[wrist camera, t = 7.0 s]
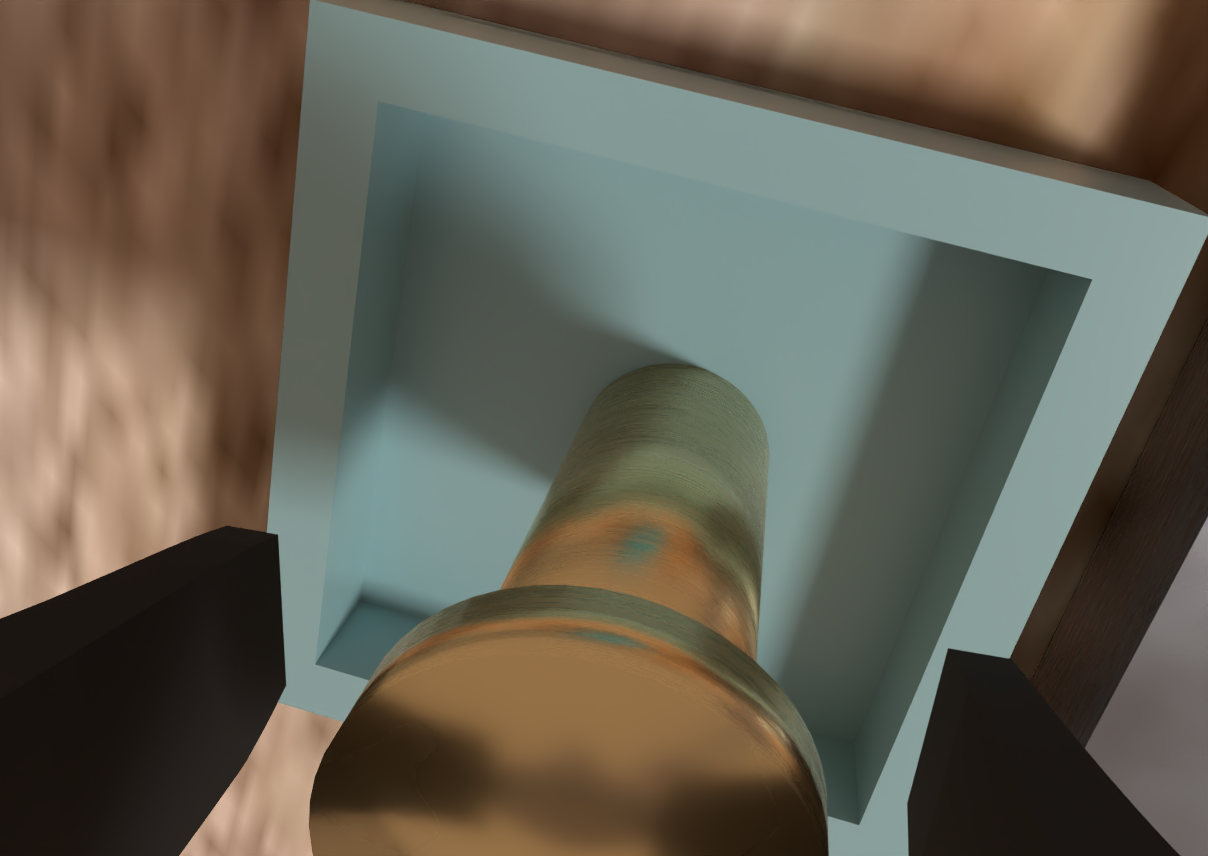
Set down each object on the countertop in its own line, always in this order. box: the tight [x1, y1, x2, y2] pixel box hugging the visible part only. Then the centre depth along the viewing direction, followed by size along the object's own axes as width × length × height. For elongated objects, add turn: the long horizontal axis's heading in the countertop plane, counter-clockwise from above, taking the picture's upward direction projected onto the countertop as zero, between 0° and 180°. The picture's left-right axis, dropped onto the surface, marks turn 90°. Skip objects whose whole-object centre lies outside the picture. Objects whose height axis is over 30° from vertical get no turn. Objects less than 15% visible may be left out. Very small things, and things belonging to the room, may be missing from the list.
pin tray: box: [267, 0, 1208, 856], centre depth 16 cm, size 11×11×2 cm
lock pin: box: [309, 363, 829, 856], centre depth 12 cm, size 4×4×8 cm
